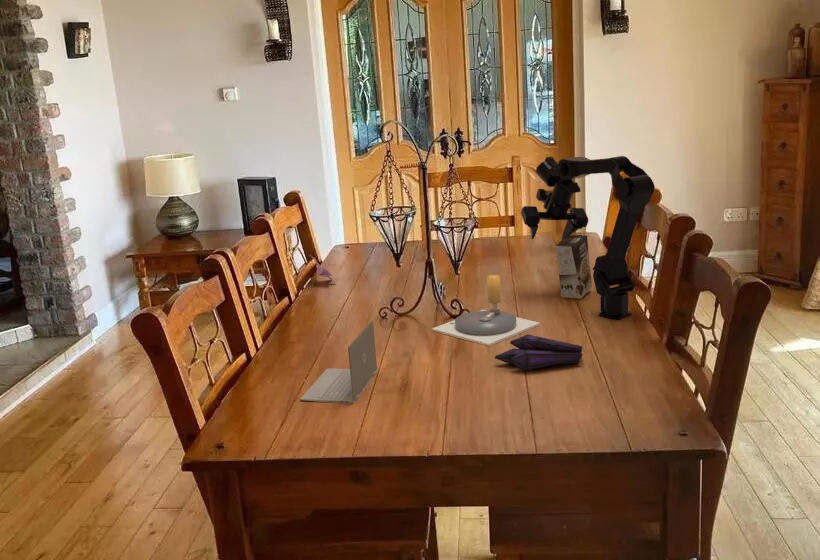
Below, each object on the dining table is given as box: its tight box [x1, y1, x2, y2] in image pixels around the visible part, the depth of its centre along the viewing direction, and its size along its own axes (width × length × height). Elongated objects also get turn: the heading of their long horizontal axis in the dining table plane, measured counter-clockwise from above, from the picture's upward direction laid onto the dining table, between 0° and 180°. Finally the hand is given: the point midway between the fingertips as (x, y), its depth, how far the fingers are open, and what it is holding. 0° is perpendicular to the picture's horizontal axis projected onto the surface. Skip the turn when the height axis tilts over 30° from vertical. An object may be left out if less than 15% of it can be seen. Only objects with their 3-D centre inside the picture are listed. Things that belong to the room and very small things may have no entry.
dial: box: [454, 274, 517, 335], centre depth 215 cm, size 16×16×12 cm
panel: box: [431, 309, 541, 347], centre depth 217 cm, size 20×20×1 cm
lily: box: [309, 254, 336, 287], centre depth 269 cm, size 12×12×10 cm
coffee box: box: [555, 234, 593, 300], centre depth 237 cm, size 9×6×16 cm
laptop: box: [299, 319, 378, 404], centre depth 183 cm, size 18×12×13 cm
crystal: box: [494, 333, 584, 372], centre depth 189 cm, size 7×12×20 cm
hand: (547, 238), depth 242 cm, fingers open, 9 cm apart
